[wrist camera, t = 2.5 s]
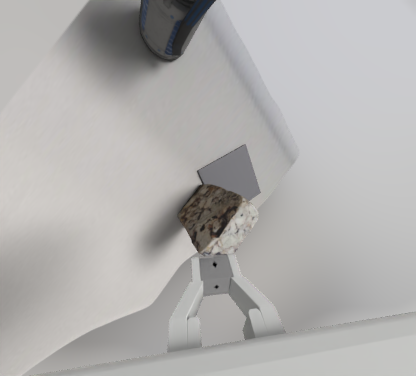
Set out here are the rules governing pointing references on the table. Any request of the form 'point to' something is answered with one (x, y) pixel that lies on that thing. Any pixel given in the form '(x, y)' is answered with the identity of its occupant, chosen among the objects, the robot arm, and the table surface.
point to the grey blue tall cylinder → (171, 24)
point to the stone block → (217, 219)
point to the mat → (232, 173)
